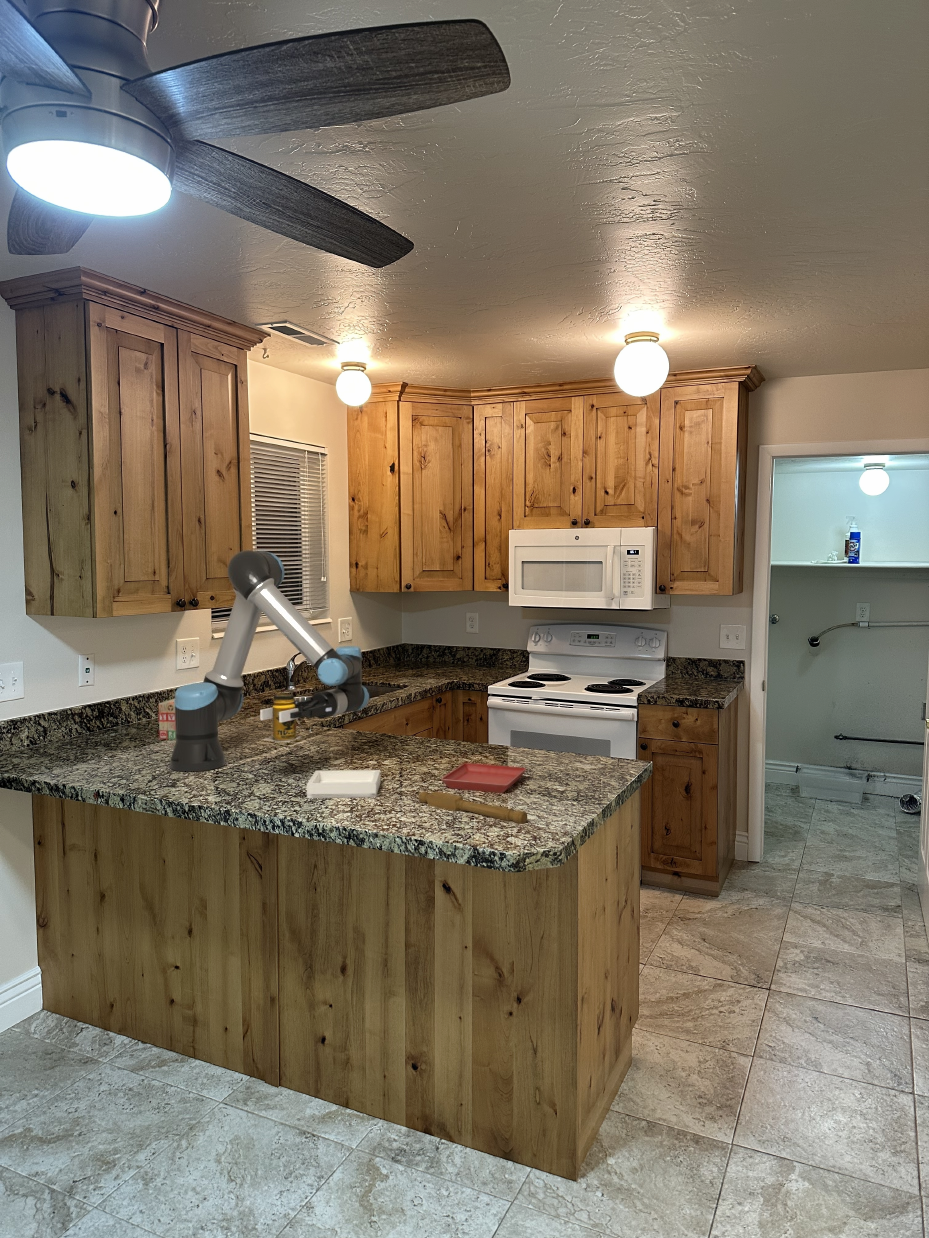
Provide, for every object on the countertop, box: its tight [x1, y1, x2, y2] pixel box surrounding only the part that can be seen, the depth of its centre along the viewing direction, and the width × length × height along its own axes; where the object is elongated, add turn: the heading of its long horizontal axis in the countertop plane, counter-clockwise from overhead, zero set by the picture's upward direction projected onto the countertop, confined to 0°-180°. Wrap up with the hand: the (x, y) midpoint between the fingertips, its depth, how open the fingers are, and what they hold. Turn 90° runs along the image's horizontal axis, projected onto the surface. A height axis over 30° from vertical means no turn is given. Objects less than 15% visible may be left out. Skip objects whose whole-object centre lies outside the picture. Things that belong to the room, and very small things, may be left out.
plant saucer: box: [440, 762, 527, 794], centre depth 218 cm, size 18×18×3 cm
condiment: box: [261, 693, 303, 743], centre depth 223 cm, size 7×8×12 cm
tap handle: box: [418, 790, 528, 825], centre depth 193 cm, size 3×3×30 cm
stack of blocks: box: [158, 698, 176, 740], centre depth 291 cm, size 21×6×12 cm, turn 169°
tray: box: [306, 769, 382, 799], centre depth 213 cm, size 17×14×4 cm
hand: (270, 716), depth 219 cm, fingers closed on condiment, 6 cm apart
